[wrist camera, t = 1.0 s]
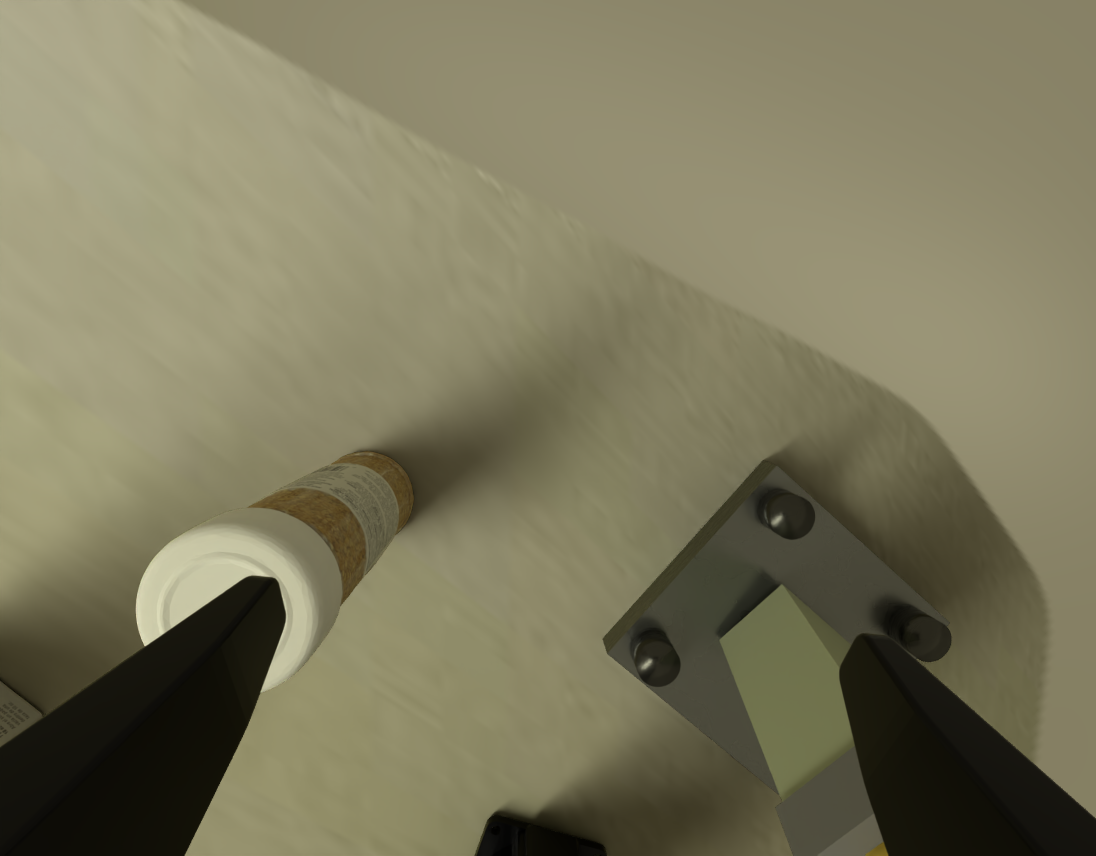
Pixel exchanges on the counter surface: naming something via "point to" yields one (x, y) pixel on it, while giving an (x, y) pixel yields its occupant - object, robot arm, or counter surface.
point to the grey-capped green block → (803, 725)
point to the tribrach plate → (741, 585)
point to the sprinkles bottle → (285, 553)
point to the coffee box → (14, 714)
